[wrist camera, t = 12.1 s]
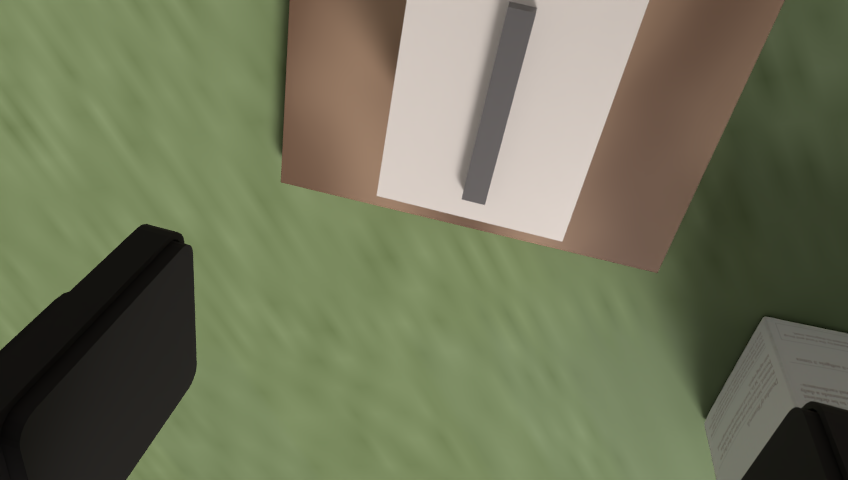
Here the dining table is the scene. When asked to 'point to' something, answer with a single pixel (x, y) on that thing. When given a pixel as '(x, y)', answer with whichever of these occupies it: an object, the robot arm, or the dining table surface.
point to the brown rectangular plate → (617, 147)
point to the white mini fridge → (503, 106)
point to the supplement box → (774, 389)
